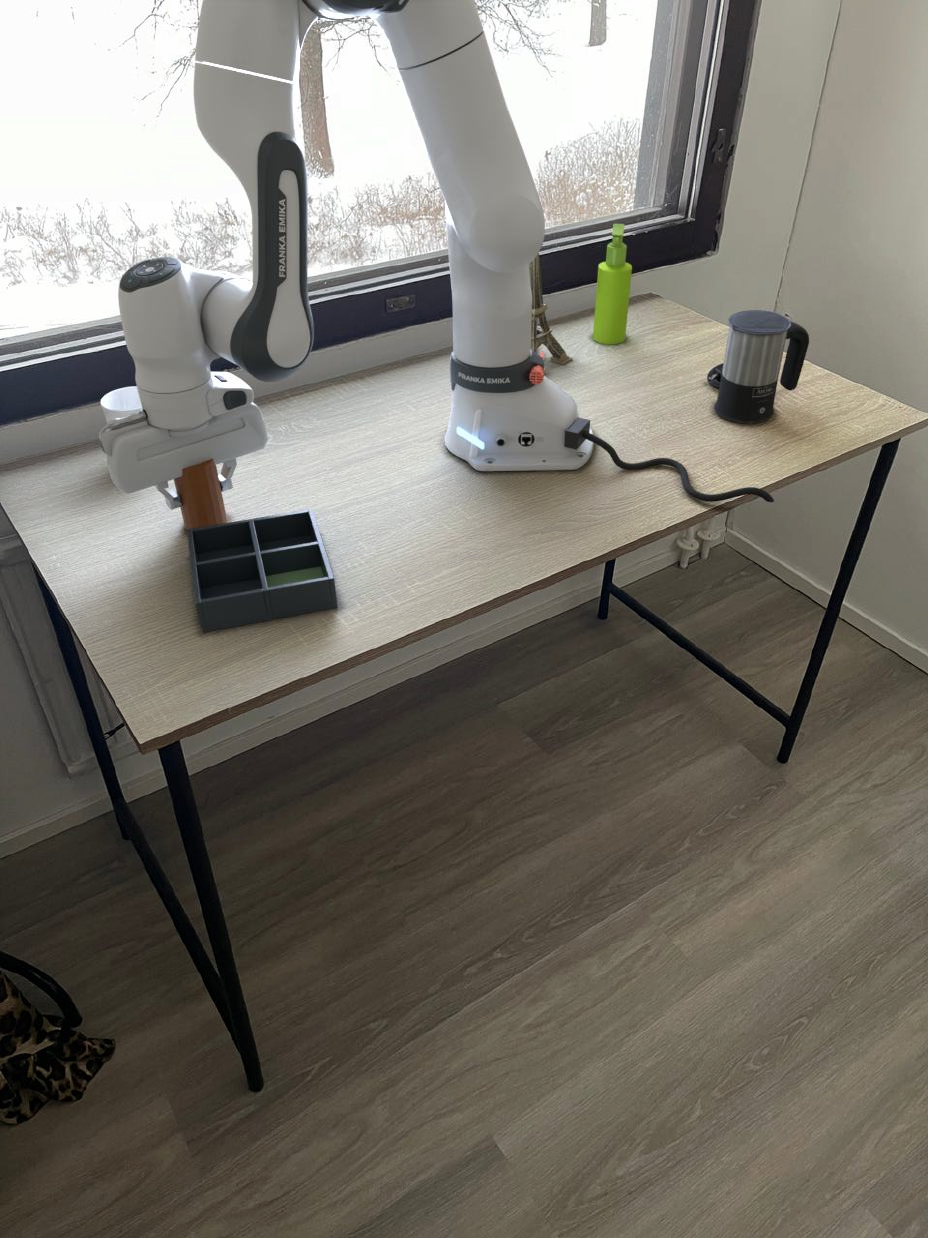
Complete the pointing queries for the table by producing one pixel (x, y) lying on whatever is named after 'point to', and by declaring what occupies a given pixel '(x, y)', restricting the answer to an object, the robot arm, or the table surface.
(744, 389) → the milk frother
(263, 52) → the robot arm
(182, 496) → the jar
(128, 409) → the white cup
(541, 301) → the eiffel tower
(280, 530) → the compartment tray
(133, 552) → the table surface
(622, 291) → the soap dispenser
